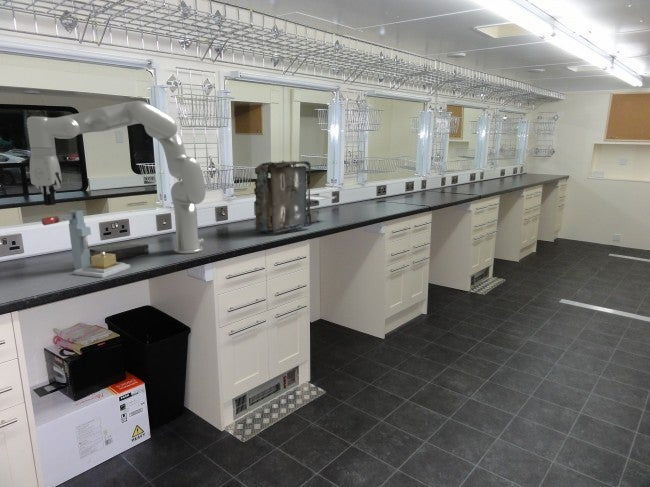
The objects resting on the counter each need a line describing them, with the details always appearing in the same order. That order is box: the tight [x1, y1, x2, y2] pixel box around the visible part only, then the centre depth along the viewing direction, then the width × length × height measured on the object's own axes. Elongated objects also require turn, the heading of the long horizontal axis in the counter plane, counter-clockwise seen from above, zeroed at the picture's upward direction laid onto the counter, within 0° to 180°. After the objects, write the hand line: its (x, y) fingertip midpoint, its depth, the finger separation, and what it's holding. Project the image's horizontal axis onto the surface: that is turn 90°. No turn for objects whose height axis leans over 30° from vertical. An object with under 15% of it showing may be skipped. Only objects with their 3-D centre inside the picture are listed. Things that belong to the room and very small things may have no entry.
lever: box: [41, 213, 76, 226], centre depth 168 cm, size 15×3×3 cm, turn 161°
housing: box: [90, 252, 117, 270], centre depth 174 cm, size 6×6×6 cm
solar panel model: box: [306, 193, 336, 223], centre depth 279 cm, size 28×17×15 cm, turn 53°
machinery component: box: [253, 160, 312, 235], centre depth 245 cm, size 33×18×38 cm, turn 133°
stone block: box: [89, 241, 150, 262], centre depth 197 cm, size 14×20×5 cm
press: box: [67, 209, 131, 278], centre depth 173 cm, size 14×19×23 cm
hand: (50, 204), depth 163 cm, fingers closed
